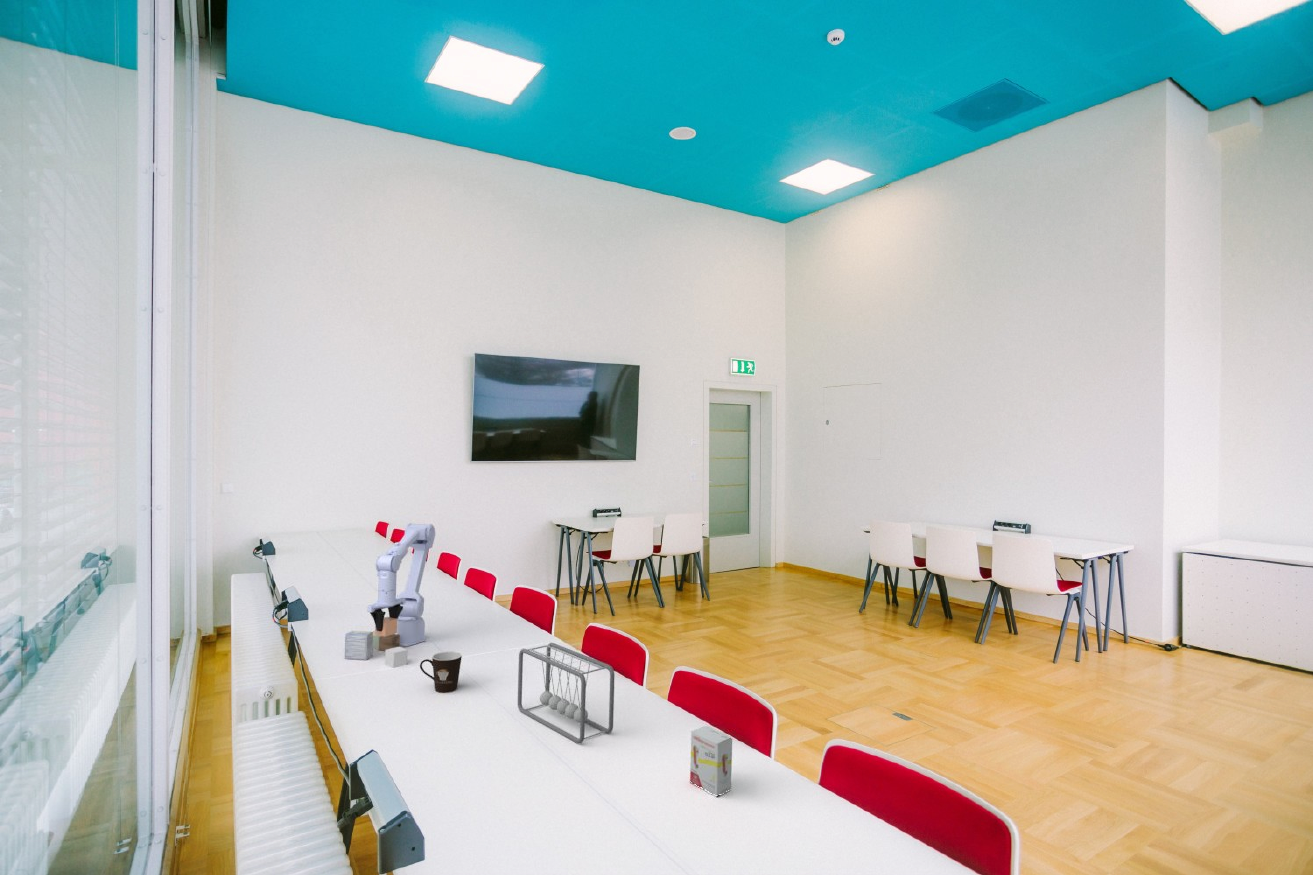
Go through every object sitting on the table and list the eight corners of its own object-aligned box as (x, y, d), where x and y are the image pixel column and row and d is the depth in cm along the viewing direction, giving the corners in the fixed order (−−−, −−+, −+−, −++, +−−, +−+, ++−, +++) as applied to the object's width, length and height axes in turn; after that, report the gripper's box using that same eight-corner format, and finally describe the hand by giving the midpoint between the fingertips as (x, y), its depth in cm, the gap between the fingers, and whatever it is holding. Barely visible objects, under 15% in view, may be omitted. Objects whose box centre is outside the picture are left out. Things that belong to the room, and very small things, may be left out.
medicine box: (372, 656, 234) (373, 631, 235) (366, 660, 230) (366, 634, 230) (351, 655, 235) (351, 630, 235) (344, 659, 231) (344, 633, 231)
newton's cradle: (516, 710, 191) (518, 647, 191) (547, 701, 198) (549, 640, 198) (581, 746, 169) (583, 675, 169) (613, 735, 176) (615, 666, 176)
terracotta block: (386, 630, 239) (387, 616, 239) (396, 633, 236) (397, 618, 236) (375, 634, 234) (375, 619, 234) (385, 636, 232) (385, 621, 232)
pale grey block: (398, 661, 230) (399, 646, 230) (407, 664, 227) (407, 649, 227) (385, 664, 226) (385, 649, 227) (393, 668, 223) (393, 652, 223)
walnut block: (387, 647, 246) (387, 633, 246) (399, 648, 245) (399, 634, 245) (378, 651, 241) (379, 636, 241) (391, 652, 240) (391, 638, 240)
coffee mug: (466, 687, 208) (467, 654, 208) (447, 696, 200) (448, 662, 200) (437, 680, 213) (438, 648, 213) (417, 689, 205) (418, 655, 205)
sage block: (373, 644, 248) (373, 631, 248) (387, 645, 248) (387, 631, 248) (367, 648, 243) (368, 634, 243) (382, 649, 243) (382, 635, 243)
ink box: (688, 782, 152) (689, 729, 152) (704, 775, 156) (705, 724, 156) (716, 798, 146) (717, 742, 146) (731, 790, 149) (733, 736, 149)
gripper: (396, 584, 244) (394, 622, 244) (361, 591, 231) (360, 631, 231) (410, 586, 240) (408, 625, 240) (375, 594, 228) (374, 635, 227)
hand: (386, 628), depth 235 cm, fingers closed on terracotta block, 5 cm apart
